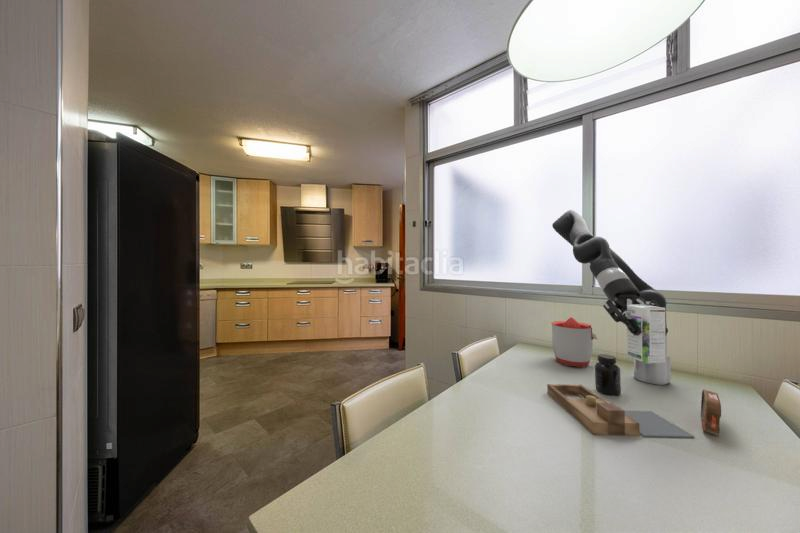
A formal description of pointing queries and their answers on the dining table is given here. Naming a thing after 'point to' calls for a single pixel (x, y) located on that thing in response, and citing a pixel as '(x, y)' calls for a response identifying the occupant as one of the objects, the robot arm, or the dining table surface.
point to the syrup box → (647, 334)
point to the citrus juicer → (572, 342)
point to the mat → (656, 425)
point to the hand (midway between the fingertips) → (651, 333)
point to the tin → (710, 412)
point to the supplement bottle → (607, 376)
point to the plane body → (593, 411)
